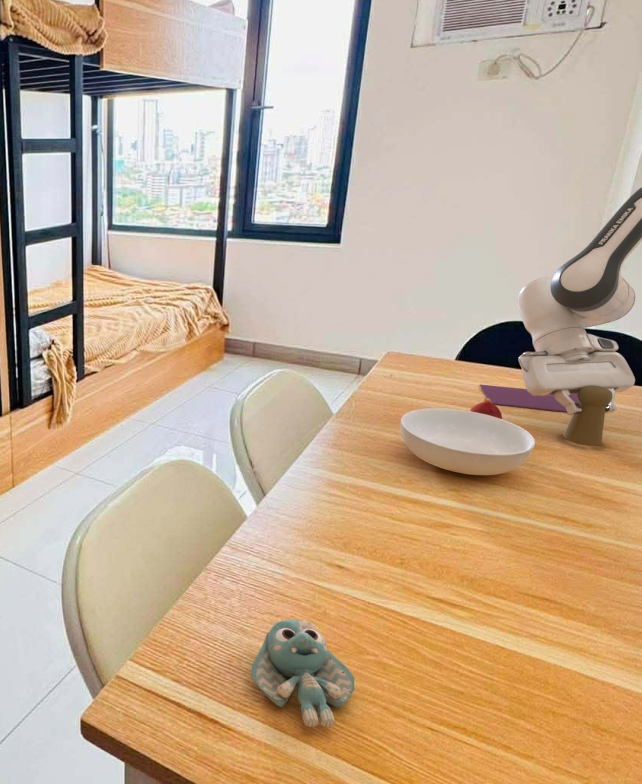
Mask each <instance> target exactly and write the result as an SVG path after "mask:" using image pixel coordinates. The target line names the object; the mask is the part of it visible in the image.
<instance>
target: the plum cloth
mask: <svg viewBox="0 0 642 784" xmlns="http://www.w3.org/2000/svg"><path fill="white" fill-rule="evenodd" d="M479 388H481V391H482V392H483V394H484V395H485V398H488V399H490V401H491V402H492V403H493V404H494V405H496V406H503V407H511V408H513V407H514V408H521V409H532V410H540V411H548V412H549V411H550V412H558V413H566V414H568V412H567V410H566V408H565V407H564V406H563V405H562V404H560V403H559V402H558V401H557V400H556V399H555V397H554V395H543V396H533V395H531V394H530V393H529V392H528V391H527V389H526V388H520V387H511V386H510V387H509V386H500V385H492V384H491V385H490V384H482V383H481V384H479ZM569 397H570V398H571V399H572V400H573V401H574V402H575V403H579V400H578V394H570V395H569Z"/></svg>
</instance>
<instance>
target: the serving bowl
mask: <svg viewBox="0 0 642 784" xmlns="http://www.w3.org/2000/svg"><path fill="white" fill-rule="evenodd" d="M400 433H401V438H402V440H403V442H404V444H405V446H406V447H407V449H409V450H410V452H411V453H412V454H414V455H415V457H418V458H419V459H421V460H422V461H424V462H425V463H428V464H430V465H432V466H434V467H437V468H440V469H443V470H446V471H450V472H454V473H458V474H464V475H473V476H496V475H500V474H502V475H503V474H505V473H509V472H511V471H514V470H515V469H517V468H519V467H521V466H522V465H523V464H524V463H525V462H526V461H528V459H529V458H530V456H531V455H532V452H533V451H534V448H535V446H536V439H535V438H534V437H533V435H532V434H531V433H530V432H529V431H527V430H526V429H525V428H523V427H522V426H519V425H518V424H516V423H512V422H510V421H508V420H506V419H503V418H502V419H499V418H496V417H493V416H489V415H486V414H481V413H476V412H471V411H470V410H464V409H455V408H447V407H446V408H444V407H432V408H431V407H430V408H429V407H428V408H418V409H414V410H411V411H408V412H406V413H404V414H403V416H402V417H401V418H400Z"/></svg>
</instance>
